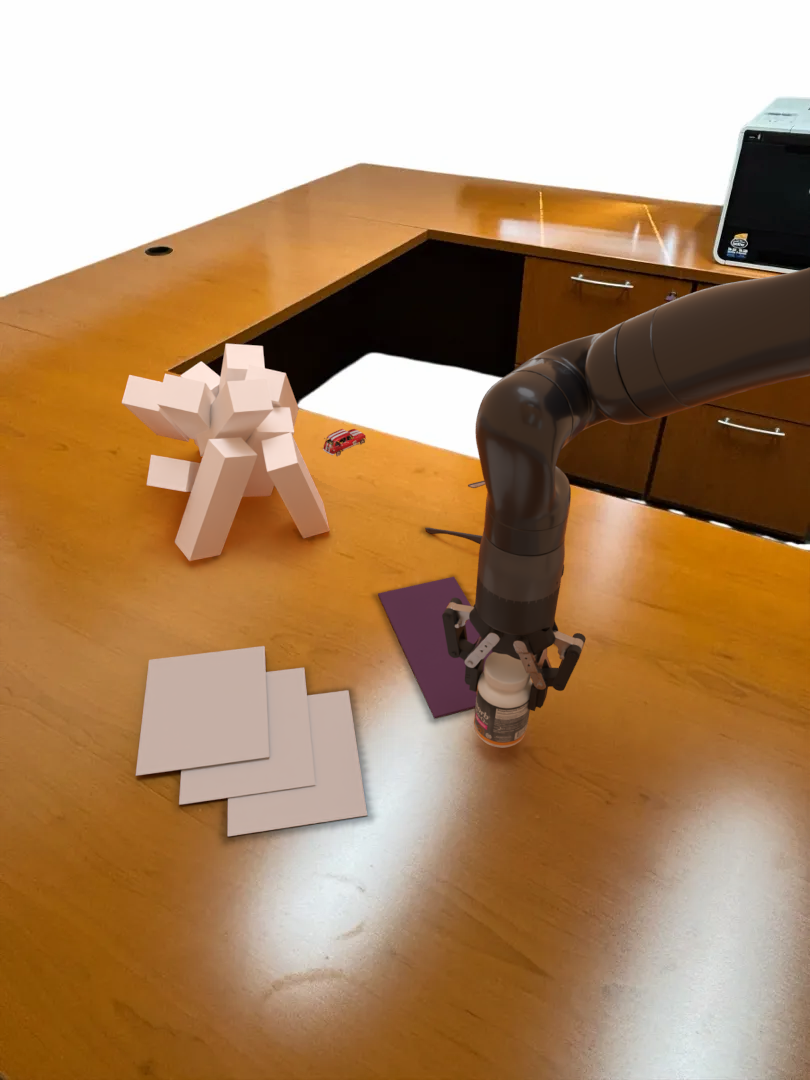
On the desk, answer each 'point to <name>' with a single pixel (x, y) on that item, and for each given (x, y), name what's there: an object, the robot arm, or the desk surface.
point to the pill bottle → (502, 701)
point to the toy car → (343, 441)
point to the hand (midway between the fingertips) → (504, 694)
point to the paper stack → (251, 740)
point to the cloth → (431, 642)
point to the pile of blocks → (227, 445)
